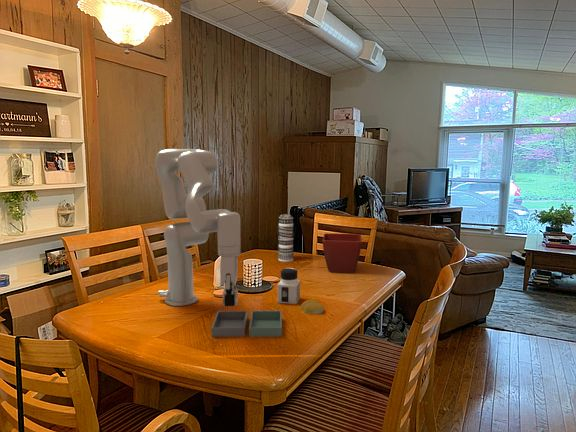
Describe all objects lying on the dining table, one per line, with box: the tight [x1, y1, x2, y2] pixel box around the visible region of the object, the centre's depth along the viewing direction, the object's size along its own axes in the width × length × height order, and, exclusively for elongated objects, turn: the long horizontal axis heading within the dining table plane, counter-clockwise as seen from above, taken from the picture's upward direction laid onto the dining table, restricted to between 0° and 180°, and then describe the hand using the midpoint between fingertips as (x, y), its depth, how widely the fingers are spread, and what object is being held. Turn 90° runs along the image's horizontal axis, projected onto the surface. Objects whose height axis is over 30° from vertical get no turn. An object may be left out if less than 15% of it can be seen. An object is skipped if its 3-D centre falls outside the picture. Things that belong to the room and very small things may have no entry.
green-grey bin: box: [248, 310, 283, 338], centre depth 147 cm, size 10×15×4 cm
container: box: [277, 267, 301, 305], centre depth 175 cm, size 8×8×13 cm
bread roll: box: [300, 299, 325, 315], centre depth 164 cm, size 8×9×4 cm
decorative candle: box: [277, 213, 295, 263], centre depth 239 cm, size 9×9×25 cm
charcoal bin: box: [210, 310, 249, 338], centre depth 147 cm, size 10×15×4 cm
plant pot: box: [321, 232, 363, 274], centre depth 221 cm, size 19×19×17 cm
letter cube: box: [222, 287, 239, 307], centre depth 146 cm, size 4×4×5 cm
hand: (230, 302), depth 146 cm, fingers closed on letter cube, 4 cm apart
